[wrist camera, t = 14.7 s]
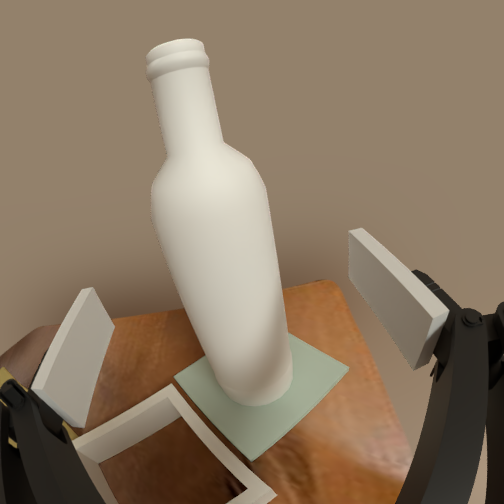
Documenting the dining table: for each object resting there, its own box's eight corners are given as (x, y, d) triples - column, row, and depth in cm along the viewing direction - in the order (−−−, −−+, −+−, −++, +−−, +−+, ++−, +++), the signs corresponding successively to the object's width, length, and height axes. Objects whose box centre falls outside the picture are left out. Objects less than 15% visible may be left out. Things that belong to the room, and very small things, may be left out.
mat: (175, 379, 29) (173, 376, 28) (261, 319, 36) (261, 316, 36) (251, 461, 19) (250, 460, 18) (348, 370, 26) (348, 367, 26)
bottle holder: (87, 459, 18) (65, 444, 16) (185, 402, 26) (171, 383, 24) (149, 565, 8) (124, 565, 6) (277, 495, 15) (271, 488, 13)
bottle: (279, 416, 22) (188, 11, 8) (208, 396, 25) (85, 73, 11) (302, 355, 28) (257, 38, 14) (239, 343, 32) (166, 68, 17)
